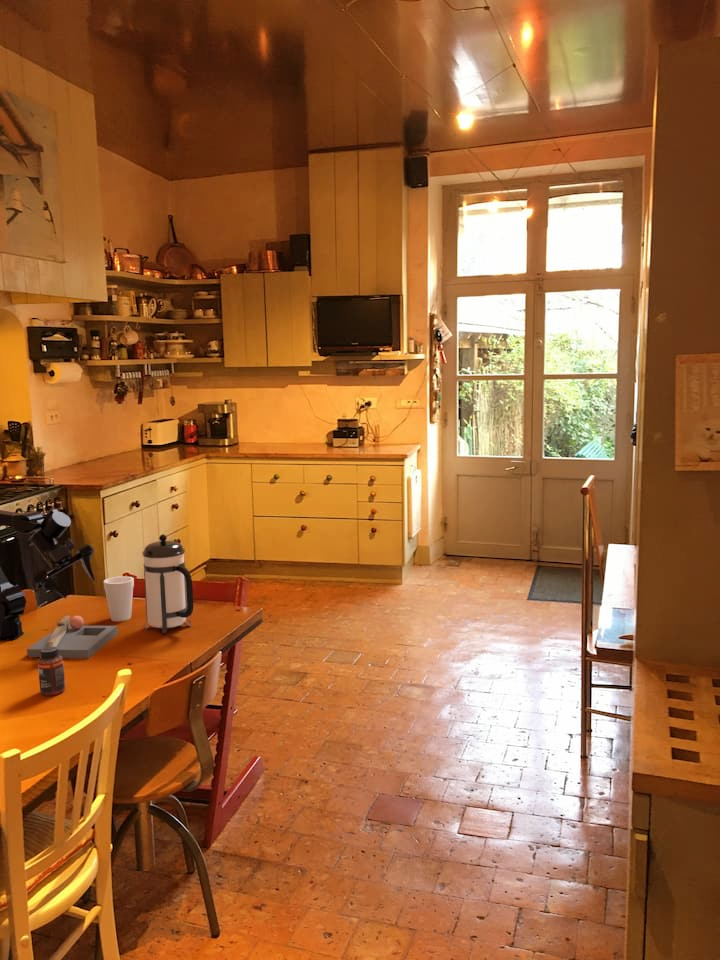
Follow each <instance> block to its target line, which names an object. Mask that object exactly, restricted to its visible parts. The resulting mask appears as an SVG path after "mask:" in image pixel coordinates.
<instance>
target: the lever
mask: <svg viewBox="0 0 720 960" xmlns="http://www.w3.org/2000/svg"><path fill="white" fill-rule="evenodd" d="M70 620H71V618H70V615H64V616H63V617H62V619H61V621H59V622H57V623H56V625H57V627H55V629H54V630H55V631H54V630H53V631H54V632H53V634H52V636H51V637H50V639H49V640H48V642H47V647H57V646H58V644H59V642H60V641H61V639H62V637H63V636H64V634H65V633H66V631H67V629H68V628H69V626H70Z"/></svg>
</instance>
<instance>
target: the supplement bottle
mask: <svg viewBox="0 0 720 960" xmlns="http://www.w3.org/2000/svg"><path fill="white" fill-rule="evenodd" d="M64 667H65V666H64V658H62V656H61V655H59V654H58V648H57V647H46V648H43V649H42V650H41V658H38V660H37V670H38V681H39V682H38V684H39V691H40V694H41V695H42V696H46V697H47V696H49V697H51V696H56V695H59V694H61V693H63V692H64V691H65V690H66V682H65V679H66V678H65V668H64Z"/></svg>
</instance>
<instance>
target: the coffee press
mask: <svg viewBox="0 0 720 960" xmlns="http://www.w3.org/2000/svg"><path fill="white" fill-rule="evenodd" d="M158 538H159V540H158V541H155V542H151V543H149V544H147V545H146V546H145V547H144V550H143V551H142V556H143V560H144V561H143V562H144V563H143V570H144V571H143V578H144V593H145V594H144V595H145V596H144V597H145V608H146V609H145V611H146V613H145V614H146V621H145V622H144V624H143V627H142V628H143V629H144V630H148V629H149V628H150V627H152V628H155V629H156V628H157V629H162V630H161V633H162V636H163V635H168V631H169V630H168V629H171V628H175V627H178V626H181V625H184V626H186V627H188V626H189V624H187V623H186V621H188V622H189V623H190V627H192V623H193V622H192V621H191V620H190V619H189V617H191V615H192V614H193V611H194V591H193V588H194V587H193V578H192V576H191V573H190V571H189V570H188V568H186V563H185V562H186V561H185V552H186V550H185V548H184V547H183V545H182V544H181V543H180V542H178V541H175V540H167V535H166V534H160V535H159V537H158ZM147 623H148V624H149V626H147V627H146V625H147ZM188 628H189V627H188Z"/></svg>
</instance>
